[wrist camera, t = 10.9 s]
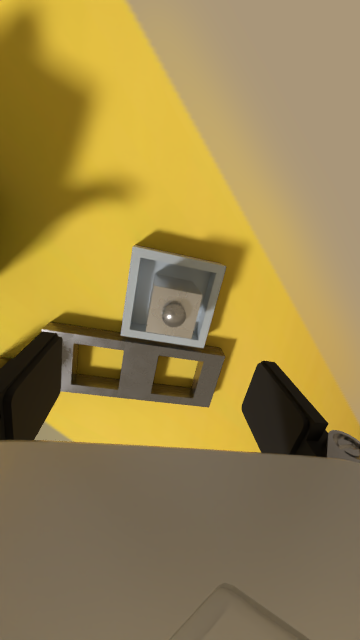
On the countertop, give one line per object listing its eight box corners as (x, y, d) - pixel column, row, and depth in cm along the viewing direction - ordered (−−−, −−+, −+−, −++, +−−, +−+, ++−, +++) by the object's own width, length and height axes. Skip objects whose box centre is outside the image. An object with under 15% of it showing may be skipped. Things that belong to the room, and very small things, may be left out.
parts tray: (135, 244, 28) (132, 246, 26) (219, 263, 30) (226, 266, 27) (123, 326, 32) (120, 335, 29) (199, 338, 34) (203, 348, 31)
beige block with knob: (154, 273, 29) (153, 287, 22) (192, 281, 30) (204, 297, 23) (147, 310, 31) (145, 334, 24) (184, 316, 32) (192, 342, 24)
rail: (49, 378, 34) (41, 389, 31) (50, 321, 31) (41, 329, 28) (205, 396, 38) (208, 407, 35) (220, 347, 35) (225, 356, 32)
